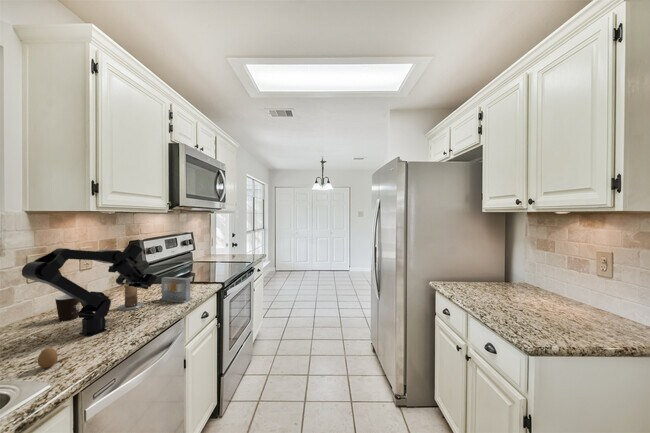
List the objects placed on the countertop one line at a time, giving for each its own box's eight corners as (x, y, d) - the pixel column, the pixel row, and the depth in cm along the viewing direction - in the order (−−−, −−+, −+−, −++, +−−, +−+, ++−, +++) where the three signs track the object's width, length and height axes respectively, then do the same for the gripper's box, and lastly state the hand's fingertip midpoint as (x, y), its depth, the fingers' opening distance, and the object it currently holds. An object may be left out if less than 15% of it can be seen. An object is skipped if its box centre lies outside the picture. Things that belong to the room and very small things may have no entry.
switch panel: (184, 302, 150) (184, 280, 150) (159, 300, 154) (159, 278, 154) (192, 299, 156) (192, 277, 156) (168, 297, 160) (168, 276, 160)
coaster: (127, 311, 137) (127, 310, 137) (112, 308, 141) (112, 307, 141) (149, 305, 147) (149, 303, 147) (134, 302, 151) (134, 301, 151)
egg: (42, 372, 85) (42, 352, 85) (34, 369, 87) (34, 349, 86) (61, 365, 89) (60, 346, 89) (53, 362, 91) (52, 343, 91)
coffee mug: (65, 323, 123) (65, 300, 122) (50, 321, 124) (49, 298, 124) (92, 313, 134) (92, 292, 134) (78, 312, 136) (77, 291, 136)
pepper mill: (133, 307, 141) (133, 275, 141) (122, 307, 141) (122, 275, 141) (139, 304, 146) (139, 273, 146) (129, 304, 146) (129, 273, 146)
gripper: (154, 256, 130) (172, 275, 141) (122, 254, 135) (142, 273, 145) (138, 276, 122) (159, 295, 133) (105, 274, 127) (127, 292, 138)
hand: (147, 288), depth 138 cm, fingers closed
